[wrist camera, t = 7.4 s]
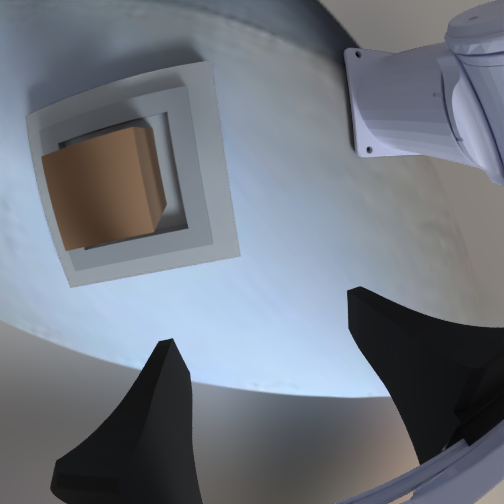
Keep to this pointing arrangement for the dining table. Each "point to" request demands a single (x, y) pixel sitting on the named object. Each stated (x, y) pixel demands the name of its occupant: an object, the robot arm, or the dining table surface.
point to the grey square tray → (171, 167)
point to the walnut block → (106, 187)
